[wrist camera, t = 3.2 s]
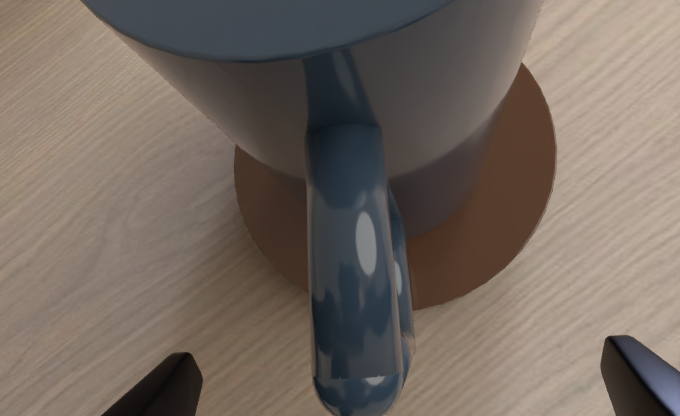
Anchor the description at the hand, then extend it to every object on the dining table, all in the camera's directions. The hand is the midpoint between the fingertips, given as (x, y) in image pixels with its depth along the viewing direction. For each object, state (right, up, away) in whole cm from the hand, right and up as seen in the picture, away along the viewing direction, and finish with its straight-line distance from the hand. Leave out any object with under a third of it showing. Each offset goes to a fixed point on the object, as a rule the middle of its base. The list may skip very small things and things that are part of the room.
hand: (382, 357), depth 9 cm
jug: (+1, +5, +10) cm, 11 cm away
